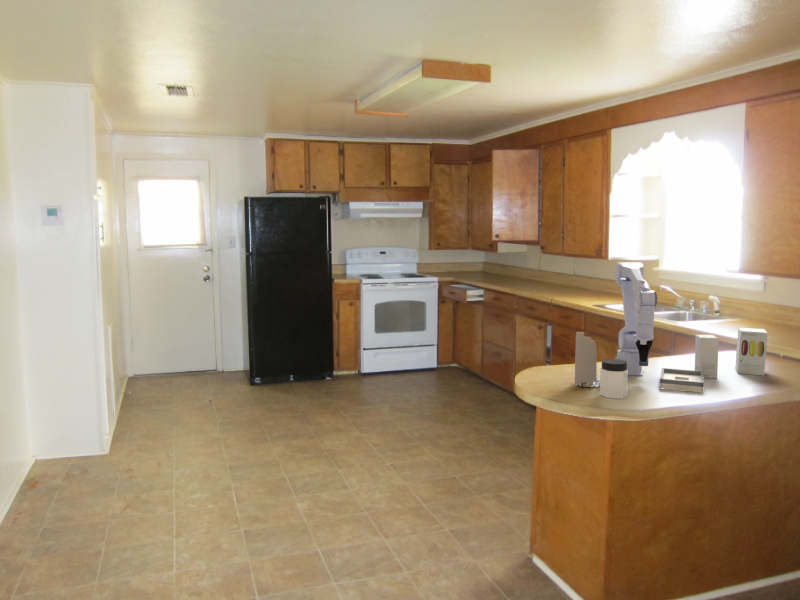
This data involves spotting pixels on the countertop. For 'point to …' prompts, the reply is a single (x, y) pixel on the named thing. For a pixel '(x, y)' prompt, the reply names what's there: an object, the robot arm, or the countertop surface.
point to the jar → (613, 378)
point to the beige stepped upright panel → (585, 359)
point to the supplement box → (751, 351)
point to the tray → (682, 380)
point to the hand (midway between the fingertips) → (643, 360)
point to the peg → (644, 362)
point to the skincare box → (706, 355)
